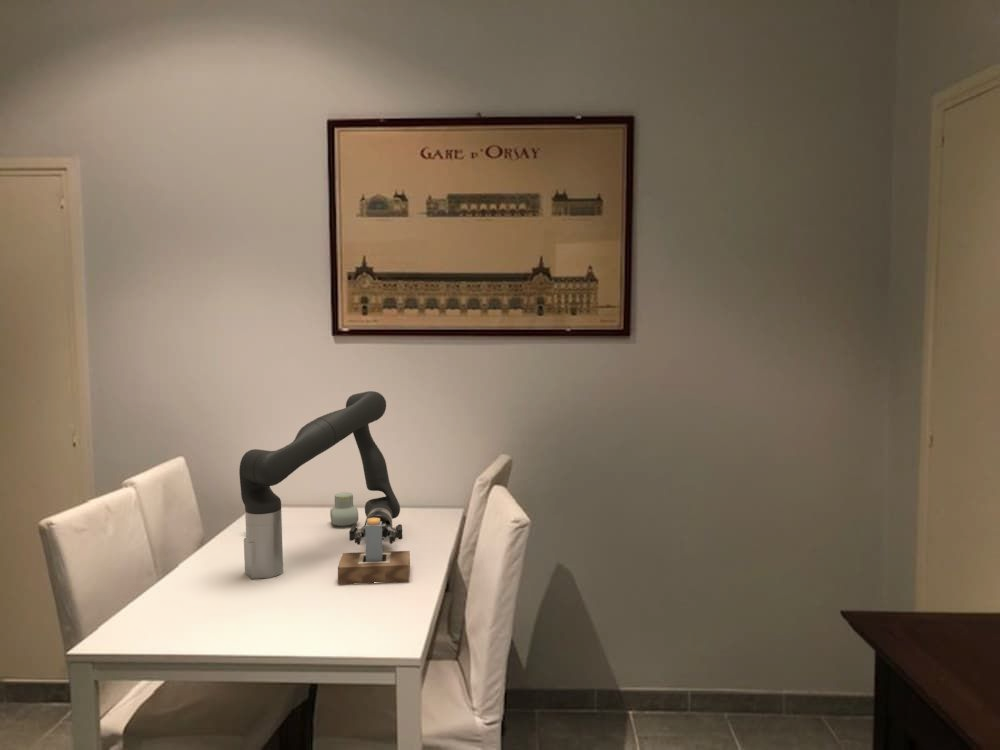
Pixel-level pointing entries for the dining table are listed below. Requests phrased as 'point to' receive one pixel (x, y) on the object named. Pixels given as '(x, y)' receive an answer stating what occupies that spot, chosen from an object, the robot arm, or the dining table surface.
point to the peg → (374, 540)
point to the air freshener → (344, 510)
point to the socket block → (374, 568)
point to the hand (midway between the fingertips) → (374, 540)
